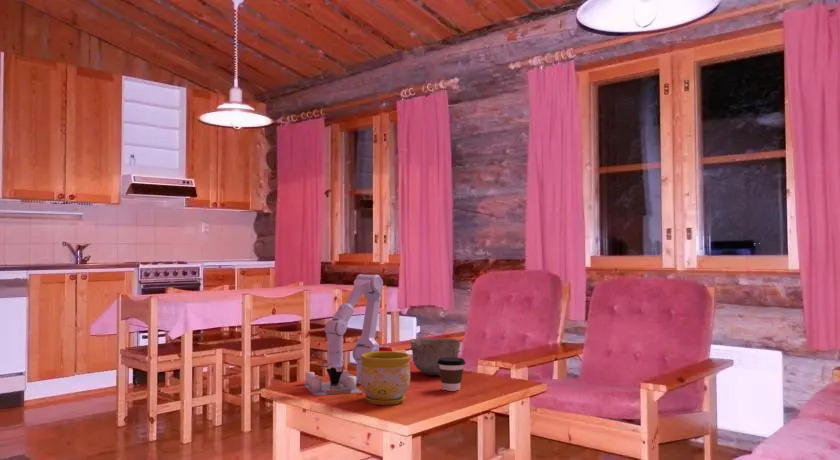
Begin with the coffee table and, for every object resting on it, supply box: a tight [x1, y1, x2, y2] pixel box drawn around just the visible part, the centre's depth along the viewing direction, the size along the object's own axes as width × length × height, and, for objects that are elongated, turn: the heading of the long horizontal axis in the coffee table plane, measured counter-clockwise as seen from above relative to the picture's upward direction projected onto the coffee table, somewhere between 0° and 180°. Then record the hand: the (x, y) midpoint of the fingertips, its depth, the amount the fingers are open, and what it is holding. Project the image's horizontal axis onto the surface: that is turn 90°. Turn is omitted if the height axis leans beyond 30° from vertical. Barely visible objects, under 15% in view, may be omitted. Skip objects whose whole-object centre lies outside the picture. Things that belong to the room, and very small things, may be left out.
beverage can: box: [379, 344, 393, 352], centre depth 291 cm, size 6×6×12 cm
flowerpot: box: [360, 351, 412, 406], centre depth 237 cm, size 18×18×16 cm
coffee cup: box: [437, 356, 466, 391], centre depth 257 cm, size 11×11×12 cm
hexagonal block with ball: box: [330, 384, 344, 390], centre depth 247 cm, size 5×5×3 cm
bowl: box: [409, 337, 461, 376], centre depth 289 cm, size 22×22×15 cm
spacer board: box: [303, 369, 363, 396], centre depth 254 cm, size 18×23×6 cm
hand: (334, 387), depth 250 cm, fingers closed
